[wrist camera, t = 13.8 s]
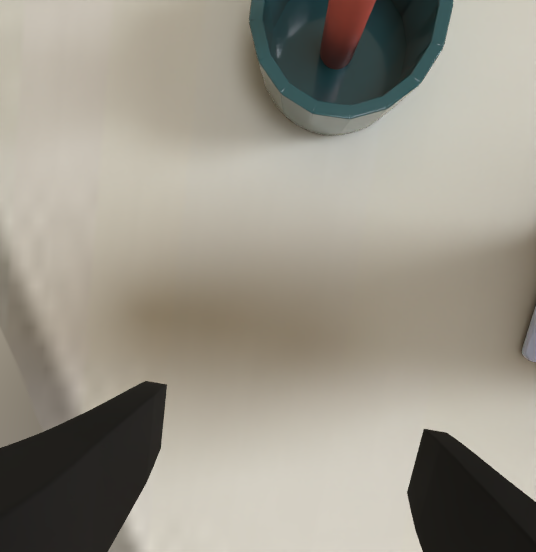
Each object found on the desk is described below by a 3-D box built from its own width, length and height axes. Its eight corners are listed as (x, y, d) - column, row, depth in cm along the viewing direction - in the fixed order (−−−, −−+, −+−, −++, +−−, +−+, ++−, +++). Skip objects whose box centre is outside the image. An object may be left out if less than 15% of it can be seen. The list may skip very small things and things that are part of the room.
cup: (429, -20, 17) (475, -93, 13) (395, 145, 19) (425, 130, 14) (273, -40, 17) (265, -118, 13) (251, 124, 19) (238, 103, 14)
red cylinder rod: (356, 35, 17) (426, -148, 8) (349, 71, 18) (410, -65, 8) (323, 31, 17) (355, -157, 8) (317, 67, 18) (341, -73, 8)
